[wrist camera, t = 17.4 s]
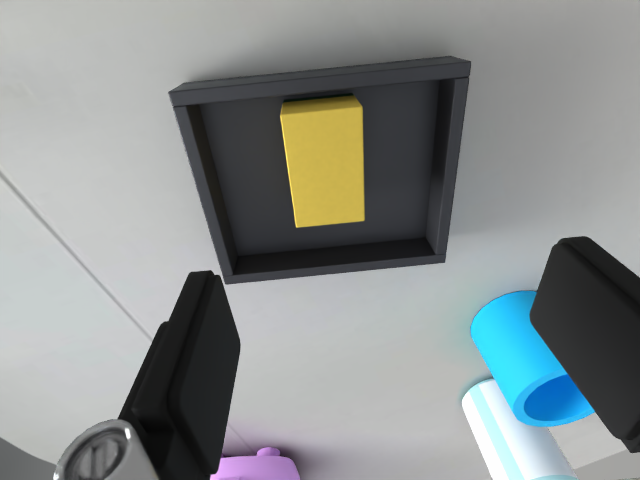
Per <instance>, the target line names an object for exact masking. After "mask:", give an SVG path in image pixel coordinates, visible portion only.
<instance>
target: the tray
mask: <svg viewBox="0 0 640 480" xmlns="http://www.w3.org/2000/svg"><path fill="white" fill-rule="evenodd" d="M470 68H471V61H468V60H464V59H460V58H456V57H452V56H445V57H436V58H426V59H416V60H406V61H396V62H386V63H376V64H366V65H356V66H346V67H337V68H327V69H317V70H307V71H297V72H287V73H277V74H267V75H257V76H248V77H238V78H228V79H218V80H208V81H198V82H188V83H183V84H181V85H180V86H178V87H176V88H175V89H173V90H171V91H169V92H168V94H169V97H170V100H171V104H172V106H174V107H173V110H174V114H175V117H176V120H177V124H178V127H179V130H180V134H181V137H182V141H183V144H184V147H185V151H186V154H187V157H188V161H189V164H190V167H191V171H192V174H193V177H194V181H195V184H196V187H197V191H198V194H199V197H200V201H201V204H202V208H203V211H204V214H205V218H206V221H207V224H208V228H209V231H210V234H211V238H212V241H213V244H214V248H215V251H216V254H217V258H218V261H219V264H220V268H221V271H222V274H223V278H224V282H225V284H236V283H246V282H256V281H266V280H276V279H286V278H296V277H306V276H316V275H326V274H336V273H346V272H356V271H366V270H376V269H386V268H396V267H406V266H416V265H426V264H436V263H445V258H446V250H447V242H448V235H449V227H450V220H451V212H452V205H453V197H454V189H455V182H456V174H457V167H458V159H459V152H460V144H461V137H462V129H463V121H464V114H465V106H466V99H467V91H468V84H469V75H470ZM347 93H353V94H354V96H355V97H356V99H357V100H358V101H359V103H360V104H361V106H362V107H363V152H364V206H365V220H364V221H359V222H349V223H339V224H329V225H319V226H309V227H299V228H297V227H296V224H295V217H294V209H293V202H292V195H291V188H290V181H289V174H288V167H287V160H286V153H285V146H284V139H283V132H282V125H281V118H280V115H281V109H282V104H283V100H288V99H298V98H308V97H318V96H327V95H337V94H347Z"/></svg>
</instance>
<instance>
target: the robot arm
mask: <svg viewBox="0 0 640 480" xmlns="http://www.w3.org/2000/svg"><path fill="white" fill-rule="evenodd" d="M529 316H530V322H531V324H532V326H533V327H534V329H535V330H536V331H537V333H538V334H539V335H540V337H541V338H542V340H543V341H544V342H545V344H546V345H547V346H548V348H549V349H550V350H551V352H552V353H553V355H554V356H555V357H556V359H557V360H558V361H559V363H560V364H561V366H562V367H563V368H564V370H565V371H566V372H567V374H568V375H569V377H570V378H571V379H572V381H573V382H574V383H575V385H576V386H577V387H578V389H579V390H580V392H581V393H582V394H583V396H584V397H585V398H586V400H587V401H588V403H589V404H590V405H591V407H592V408H593V409H594V411H595V412H596V414H597V415H598V416H599V418H600V419H601V420H602V422H603V423H604V424H605V426H606V427H607V429H608V430H609V431H610V432H611V434H612V435H613V436H615V437H616V438H618V439H621V441H622V442H623V443H624V445H625V446H626V447H627V449H628V450H629V451H630V453H637V452H640V278H639V277H638V276H637V275H636V274H634V273H633V272H632V271H631V270H629V269H628V268H627V267H626V266H624V265H623V264H622V263H620V262H619V261H618V260H617V259H615V258H614V257H613V256H612V255H610V254H609V253H608V252H607V251H605V250H604V249H603V248H602V247H600V246H599V245H598V244H597V243H595V242H594V241H593V240H591V239H590V238H588V237H585V236H581V237H571V238H563V239H561V240H559V241H558V243H557V244H555V245H554V246H553V247H552V250H551V253H550V255H549V258H548V261H547V264H546V267H545V270H544V273H543V276H542V279H541V281H540V284H539V287H538V290H537V293H536V296H535V299H534V302H533V305H532V308H531V310H530V314H529ZM239 355H240V339H239V335H238V332H237V329H236V325H235V322H234V319H233V316H232V312H231V309H230V306H229V303H228V299H227V296H226V293H225V290H224V286H223V283H222V280H221V277H220V276H219V275H214V273H213V272H212V271H211V270H209V271H198V272H191V273H189V275H188V277H187V279H186V282H185V284H184V286H183V289H182V291H181V293H180V296H179V298H178V300H177V302H176V305H175V307H174V309H173V312H172V314H171V316H170V319H169V321H167V322H163V323H162V324H161V325H160V327H159V329H158V331H157V333H156V335H155V337H154V339H153V342H152V344H151V346H150V348H149V350H148V353H147V355H146V357H145V359H144V362H143V364H142V366H141V368H140V370H139V373H138V375H137V377H136V379H135V381H134V384H133V386H132V388H131V390H130V393H129V395H128V397H127V399H126V401H125V404H124V406H123V408H122V410H121V412H120V415H119V417H118V419H111V420H107V421H104V422H100V423H98V424H96V425H94V426H92V427H91V428H89V429H87V430H86V431H84V432H83V433H82V434H81V435H79V436H78V437H77V438H76V439H75V440H74V441H73V442H72V443H71V444H70V445H69V446H68V447H67V449H66V450H65V451H64V453H63V455H62V456H61V458H60V459H59V461H58V463H57V467H56V470H55V473H54V480H210V477H211V475H213V474H216V473H217V472H218V469H219V465H220V459H221V454H222V448H223V443H224V437H225V432H226V426H227V421H228V415H229V410H230V404H231V399H232V393H233V388H234V382H235V377H236V371H237V366H238V360H239ZM620 480H640V478H633V479H620Z"/></svg>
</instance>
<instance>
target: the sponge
mask: <svg viewBox="0 0 640 480" xmlns="http://www.w3.org/2000/svg"><path fill="white" fill-rule="evenodd" d="M280 118H281V125H282V132H283V139H284V146H285V153H286V160H287V167H288V174H289V181H290V188H291V195H292V202H293V209H294V217H295V224H296V227H297V228H299V227H309V226H319V225H329V224H339V223H349V222H359V221H364V220H365V206H364V152H363V107H362V106H361V104H360V103H359V101H358V100H357V99H356V97H355V96H354V94H353V93H347V94H337V95H327V96H318V97H308V98H298V99H288V100H283V104H282V109H281V115H280Z"/></svg>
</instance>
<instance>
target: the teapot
mask: <svg viewBox="0 0 640 480" xmlns="http://www.w3.org/2000/svg"><path fill="white" fill-rule="evenodd" d="M210 480H301V479H300V476H299V473H298V471H297V468H296V466H295V464H294V462H293V461H292V459H290V458H287V457H281V456H280V451H279V450H278V449H276V448H272V447H266V448H262V449H260V450H259V451H258V452H257V456H239V457H228V458H225V457H224V456H223V455H222V454H221V459H220V465H219V469H218V472H217V473H216V474H213V475H211V477H210Z"/></svg>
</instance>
